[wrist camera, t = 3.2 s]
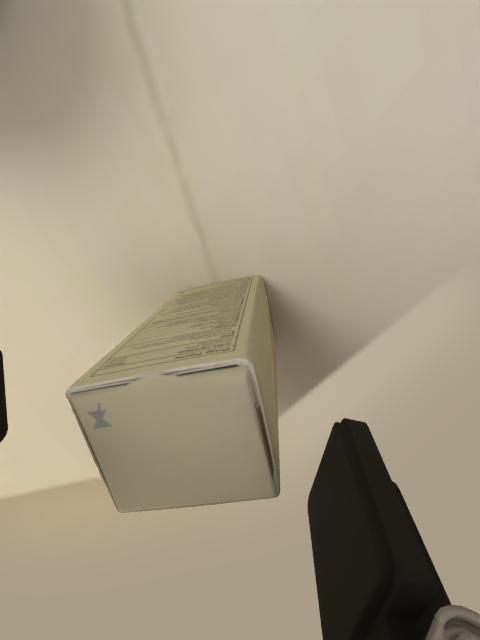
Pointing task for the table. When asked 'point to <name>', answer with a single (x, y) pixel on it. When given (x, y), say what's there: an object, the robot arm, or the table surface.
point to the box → (187, 403)
